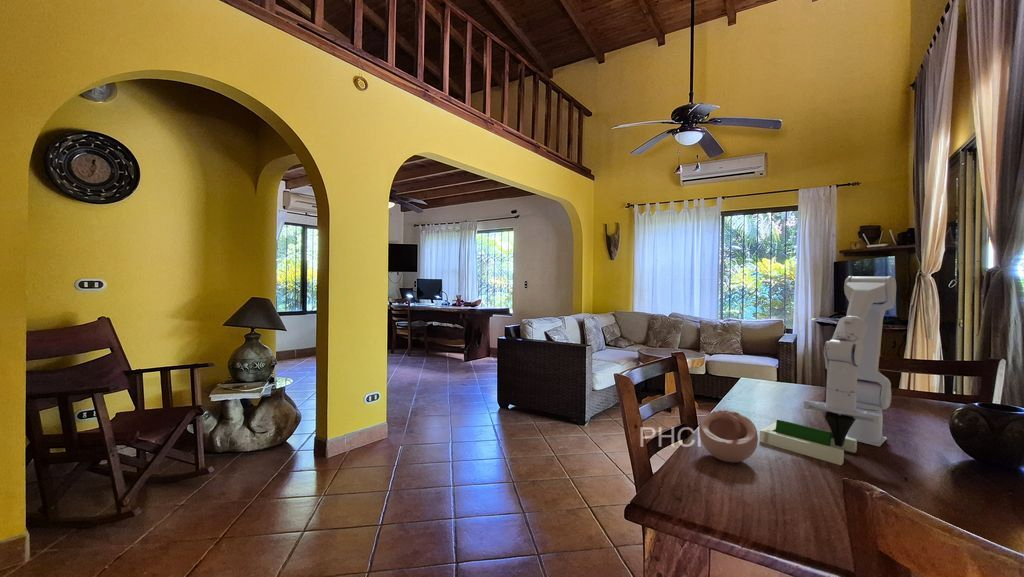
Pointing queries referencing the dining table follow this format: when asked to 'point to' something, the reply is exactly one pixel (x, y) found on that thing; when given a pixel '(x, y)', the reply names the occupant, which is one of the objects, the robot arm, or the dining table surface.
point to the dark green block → (804, 432)
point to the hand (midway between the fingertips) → (839, 445)
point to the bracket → (808, 445)
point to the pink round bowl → (728, 435)
